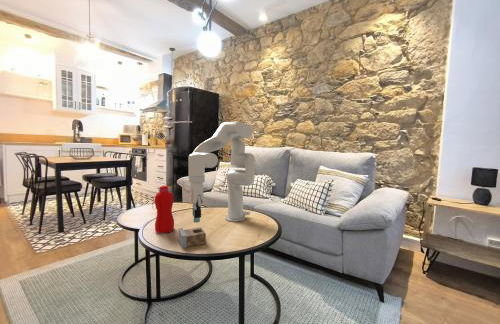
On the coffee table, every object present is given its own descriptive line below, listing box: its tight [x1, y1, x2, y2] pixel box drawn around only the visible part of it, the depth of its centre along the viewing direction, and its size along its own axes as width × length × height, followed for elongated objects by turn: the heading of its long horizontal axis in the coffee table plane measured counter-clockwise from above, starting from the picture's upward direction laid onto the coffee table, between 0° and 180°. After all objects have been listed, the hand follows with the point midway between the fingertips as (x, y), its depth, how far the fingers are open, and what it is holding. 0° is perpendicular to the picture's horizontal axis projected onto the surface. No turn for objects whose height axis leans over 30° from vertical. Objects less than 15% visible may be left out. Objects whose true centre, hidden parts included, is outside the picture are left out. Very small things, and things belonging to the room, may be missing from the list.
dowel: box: [193, 202, 201, 223], centre depth 114 cm, size 3×3×10 cm
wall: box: [177, 227, 188, 249], centre depth 112 cm, size 2×10×6 cm, turn 26°
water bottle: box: [151, 185, 175, 234], centre depth 128 cm, size 9×11×25 cm
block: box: [183, 227, 207, 248], centre depth 114 cm, size 9×9×5 cm
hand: (196, 216), depth 114 cm, fingers closed on dowel, 3 cm apart
